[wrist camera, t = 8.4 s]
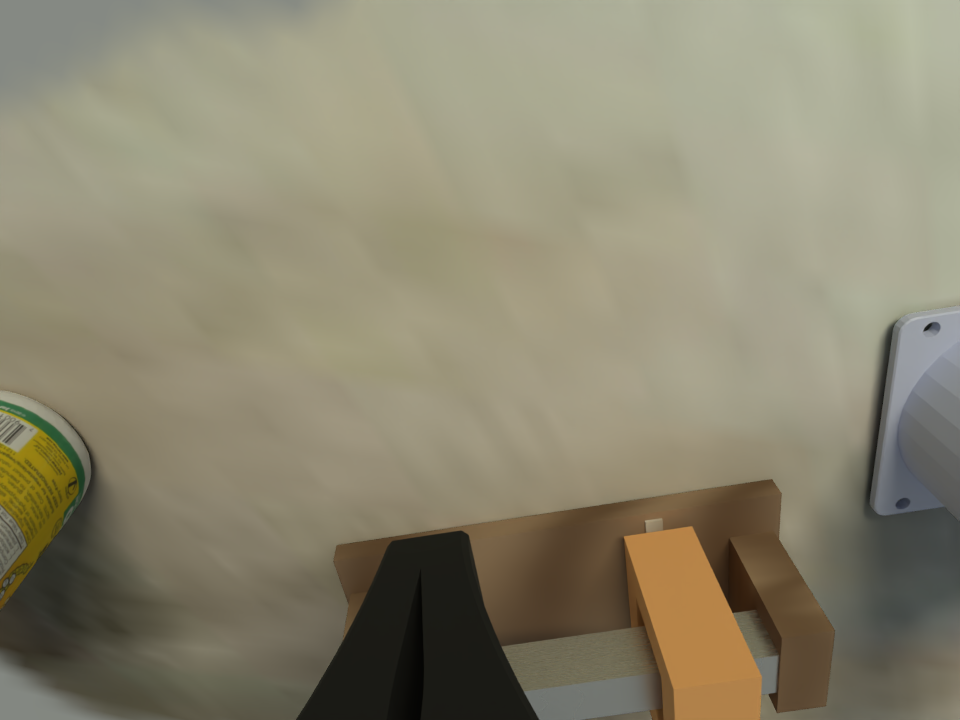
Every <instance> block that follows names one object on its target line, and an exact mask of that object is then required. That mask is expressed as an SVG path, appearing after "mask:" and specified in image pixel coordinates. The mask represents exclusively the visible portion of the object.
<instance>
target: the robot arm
mask: <svg viewBox="0 0 960 720" xmlns="http://www.w3.org/2000/svg"><path fill="white" fill-rule="evenodd" d="M932 322H933V323H932ZM929 323H932V326H931V327H930V328H929V329H928V330H927V331H924V332H923V330H924V328H925V327H926V326H927V325H928V324H929ZM900 499H901V500H900ZM898 500H900V501H898ZM897 501H898V502H897ZM870 506H871V507H872V508H873V509H874V511H875V512H876V513H877V514H879V515H893V514H899V513H906V512H913V511H919V510H926V509H933V508H940V507H946V508H947V509H948V511H949V512H950V513H951V514H952V515H953V516H954V517H955V518H956V519H957V520H958V521H959V522H960V305H959V306H953V307H947V308H941V309H935V310H928V311H922V312H916V313H910V314H907V315H905V316H903V317H902V318H900V319H899V320H898V321H897V323H896V324H895V326H894V329H893V334H892V341H891V349H890V356H889V363H888V371H887V378H886V385H885V393H884V400H883V407H882V414H881V422H880V429H879V436H878V444H877V451H876V458H875V466H874V473H873V480H872V488H871V495H870ZM296 720H539V718H538V716H537V714H536V713H535V711H534V709H533V707H532V706H531V704H530V702H529V700H528V698H527V697H526V695H525V693H524V691H523V689H522V687H521V685H520V683H519V682H518V680H517V678H516V676H515V674H514V672H513V670H512V668H511V666H510V663H509V661H508V659H507V657H506V655H505V653H504V651H503V649H502V647H501V645H500V642H499V640H498V638H497V635H496V633H495V631H494V628H493V626H492V623H491V621H490V618H489V616H488V613H487V611H486V608H485V606H484V601H483V597H482V592H481V588H480V583H479V579H478V574H477V570H476V565H475V561H474V556H473V552H472V547H471V543H470V538H469V535H468V534H467V533H465V532H463V531H462V530H460V531H453V532H447V533H440V534H434V535H427V536H420V537H414V538H407V539H401V540H394V541H392V542H391V543H390V544H389V545H388V546H387V549H386V551H385V553H384V556H383V558H382V561H381V563H380V565H379V568H378V570H377V572H376V575H375V577H374V579H373V581H372V583H371V586H370V588H369V590H368V592H367V594H366V596H365V598H364V600H363V603H362V605H361V607H360V609H359V611H358V613H357V615H356V617H355V618H354V620H353V622H352V624H351V626H350V628H349V630H348V632H347V634H346V636H345V638H344V640H343V642H342V644H341V645H340V647H339V649H338V651H337V653H336V654H335V656H334V658H333V660H332V661H331V663H330V665H329V666H328V668H327V670H326V672H325V673H324V675H323V677H322V678H321V680H320V682H319V684H318V685H317V687H316V689H315V690H314V692H313V694H312V695H311V697H310V699H309V700H308V702H307V703H306V705H305V707H304V708H303V710H302V711H301V713H300V714H299V716H298V717H297V719H296Z"/></svg>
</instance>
